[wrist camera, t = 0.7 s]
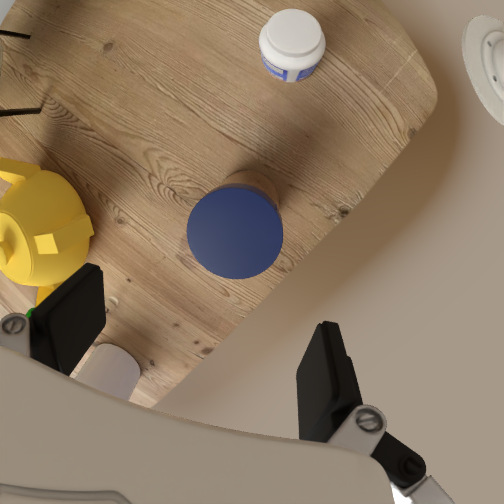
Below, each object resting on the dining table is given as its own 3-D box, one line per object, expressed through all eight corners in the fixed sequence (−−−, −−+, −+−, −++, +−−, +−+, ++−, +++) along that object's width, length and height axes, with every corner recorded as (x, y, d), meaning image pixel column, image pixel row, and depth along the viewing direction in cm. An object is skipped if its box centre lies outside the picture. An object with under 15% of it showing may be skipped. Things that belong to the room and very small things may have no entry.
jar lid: (251, 164, 20) (249, 167, 19) (299, 241, 22) (302, 251, 21) (176, 213, 22) (168, 221, 21) (225, 281, 24) (222, 293, 23)
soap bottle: (99, 333, 41) (22, 450, 18) (147, 361, 42) (89, 492, 19) (91, 361, 44) (30, 464, 21) (134, 387, 45) (85, 498, 23)
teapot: (11, 228, 35) (-39, 258, 24) (40, 139, 29) (-25, 153, 18) (77, 294, 38) (33, 341, 27) (120, 211, 32) (61, 249, 21)
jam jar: (257, 158, 29) (248, 170, 19) (290, 210, 31) (297, 248, 21) (205, 191, 31) (173, 219, 21) (238, 240, 33) (223, 287, 23)
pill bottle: (312, 38, 23) (328, 1, 14) (317, 83, 25) (336, 62, 16) (260, 39, 24) (253, 1, 15) (264, 84, 26) (259, 62, 17)
